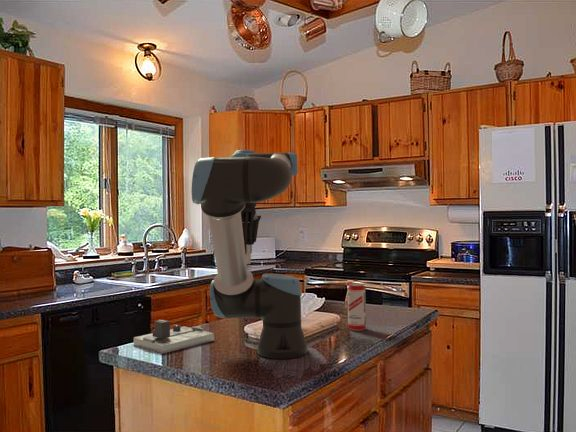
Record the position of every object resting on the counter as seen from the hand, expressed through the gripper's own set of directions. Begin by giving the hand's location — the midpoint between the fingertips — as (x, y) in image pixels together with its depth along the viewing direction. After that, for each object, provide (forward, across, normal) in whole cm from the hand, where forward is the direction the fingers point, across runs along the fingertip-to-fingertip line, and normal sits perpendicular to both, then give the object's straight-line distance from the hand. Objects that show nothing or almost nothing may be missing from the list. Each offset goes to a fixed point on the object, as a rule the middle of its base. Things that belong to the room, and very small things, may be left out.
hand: (246, 263), depth 181 cm
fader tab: (+22, +28, -10) cm, 37 cm away
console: (+24, +23, -10) cm, 35 cm away
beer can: (+25, -28, +27) cm, 46 cm away
